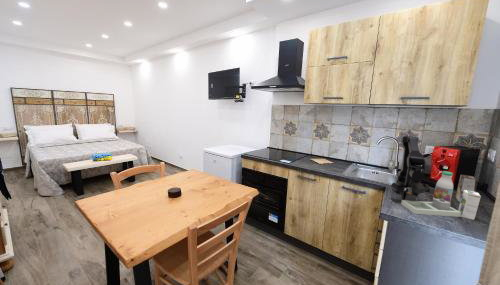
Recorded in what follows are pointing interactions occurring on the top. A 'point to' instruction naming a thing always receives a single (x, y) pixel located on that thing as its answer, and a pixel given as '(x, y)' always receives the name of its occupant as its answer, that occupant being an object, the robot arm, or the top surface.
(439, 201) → the twin plug block
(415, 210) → the socket strip
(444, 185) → the milk bottle
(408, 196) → the plug block
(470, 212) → the syrup box
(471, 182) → the coffee box
